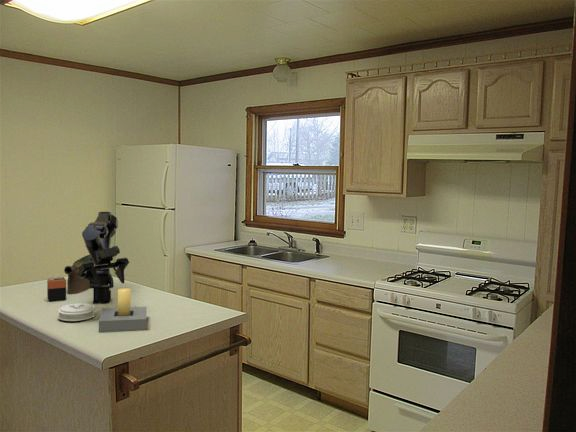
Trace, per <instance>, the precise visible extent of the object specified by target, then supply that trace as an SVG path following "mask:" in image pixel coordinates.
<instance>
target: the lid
mask: <svg viewBox="0 0 576 432" xmlns="http://www.w3.org/2000/svg"><path fill="white" fill-rule="evenodd" d="M94 311H95V307H94V306H93V305H92V304H89V303H83V302H82V303H71V304H66V305H63V306H61V307H60V308H59V309H58V311H57V313H58V316H57V317H58V319H59V320H61V321H66V322H77V321H85V320H89V319H91V318H94V316H95V312H94Z"/></svg>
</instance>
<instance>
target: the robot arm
mask: <svg viewBox="0 0 576 432" xmlns="http://www.w3.org/2000/svg"><path fill="white" fill-rule="evenodd" d="M118 227H119V221H118V218H117V216H115V215H114V214H112V212H110V211H99V212H98V215H97V216H96V219H95V221H93V222H89V223H88V225H87V226H86V227H85V228H84V230H82V232H81V236H82V239H83V242H84V244H85V248H86V249H87V250H86V251H87V252H88V255H90V256H91V258H90V261H93V262H87V263H83V264H82V265H81V267H80V269H79V270H78V274H79V276H80V277H84V278H87V279H88V280H90V288H89V289H93V293H92V294H93V295H92V296H93V297H92V299H93V301H92V304H109V303H110V301H111V299H112V290H111V289H113V288H114V286H115V285H114V277H113V276H112V274H111V270H110V269H113V270H114V273H115V275H116V277H117V278H118V280H119V282H120V283H121V284H125V270H126V268H127V266H128V265H129V264H130V261H129V259H128V258H127V257H119V258H117V259H116V261H115V262H112V261H113V260H114V257H117V255H119V254H120V253H121V249H120V247H119V246H118V245H114V246H112V247H111V243H112V242H111V241H112V238H113V237H114V235H116V232H117V229H118Z"/></svg>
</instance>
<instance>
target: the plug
mask: <svg viewBox="0 0 576 432" xmlns="http://www.w3.org/2000/svg"><path fill="white" fill-rule="evenodd" d="M131 292H132V291H131V288H127V287H122V288H118V289H117V308H118V316H130V307H131Z"/></svg>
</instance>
